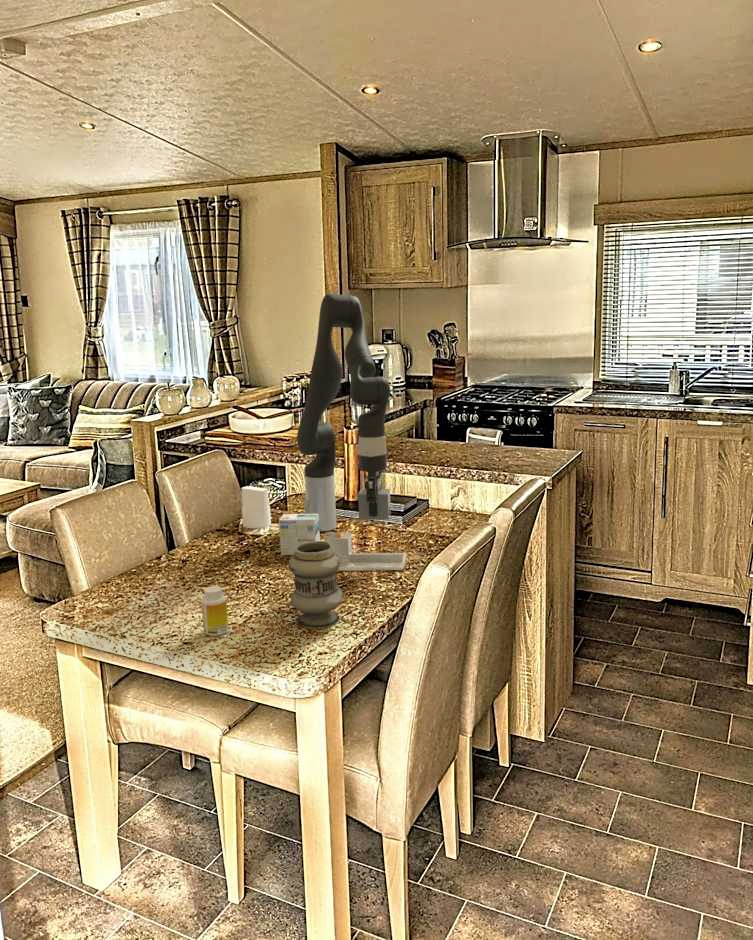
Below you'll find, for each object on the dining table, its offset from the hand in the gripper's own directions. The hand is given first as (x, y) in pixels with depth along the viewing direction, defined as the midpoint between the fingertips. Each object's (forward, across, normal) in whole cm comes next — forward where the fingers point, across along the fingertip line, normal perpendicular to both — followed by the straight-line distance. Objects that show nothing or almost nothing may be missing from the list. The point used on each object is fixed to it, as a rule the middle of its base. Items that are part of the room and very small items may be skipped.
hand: (374, 512), depth 231 cm
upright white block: (+14, -38, -43) cm, 59 cm away
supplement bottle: (+15, +47, -31) cm, 58 cm away
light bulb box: (+15, -10, -23) cm, 29 cm away
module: (+1, 0, 0) cm, 1 cm away
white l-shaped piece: (+14, 0, -3) cm, 15 cm away
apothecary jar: (+15, +40, -9) cm, 44 cm away
